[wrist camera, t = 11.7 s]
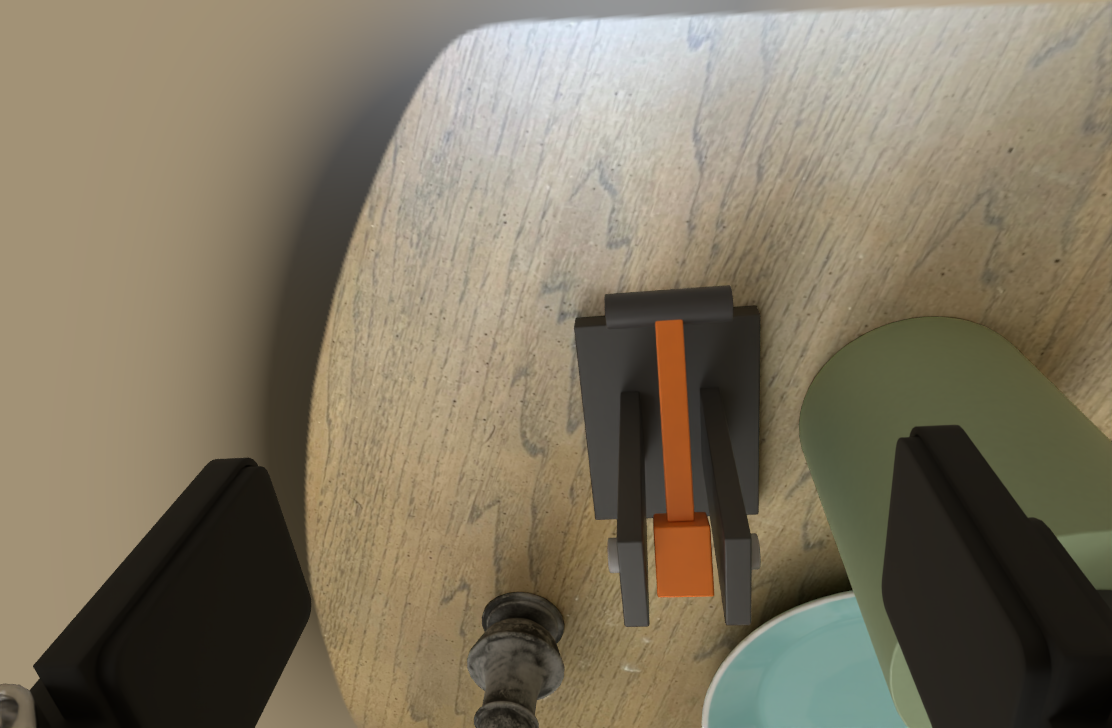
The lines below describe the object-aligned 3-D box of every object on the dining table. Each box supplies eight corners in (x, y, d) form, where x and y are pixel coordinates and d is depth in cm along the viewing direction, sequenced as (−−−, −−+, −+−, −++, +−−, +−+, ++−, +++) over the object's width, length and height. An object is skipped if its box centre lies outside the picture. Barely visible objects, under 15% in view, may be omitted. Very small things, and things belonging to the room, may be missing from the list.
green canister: (802, 324, 38) (923, 572, 22) (1094, 305, 36) (1450, 560, 20) (795, 511, 43) (889, 820, 27) (1050, 502, 41) (1306, 826, 25)
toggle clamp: (575, 317, 39) (552, 460, 27) (756, 304, 37) (812, 449, 26) (596, 507, 44) (584, 693, 33) (755, 501, 43) (800, 692, 31)
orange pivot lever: (606, 295, 32) (602, 292, 30) (727, 287, 31) (733, 283, 29) (624, 579, 32) (622, 598, 30) (743, 576, 32) (751, 596, 29)
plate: (1144, 679, 46) (1173, 720, 44) (865, 836, 55) (876, 877, 53) (886, 487, 41) (902, 520, 39) (628, 693, 51) (628, 731, 48)
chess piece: (497, 575, 47) (459, 752, 36) (584, 610, 48) (570, 793, 37) (464, 635, 50) (418, 816, 39) (546, 667, 50) (523, 854, 40)
